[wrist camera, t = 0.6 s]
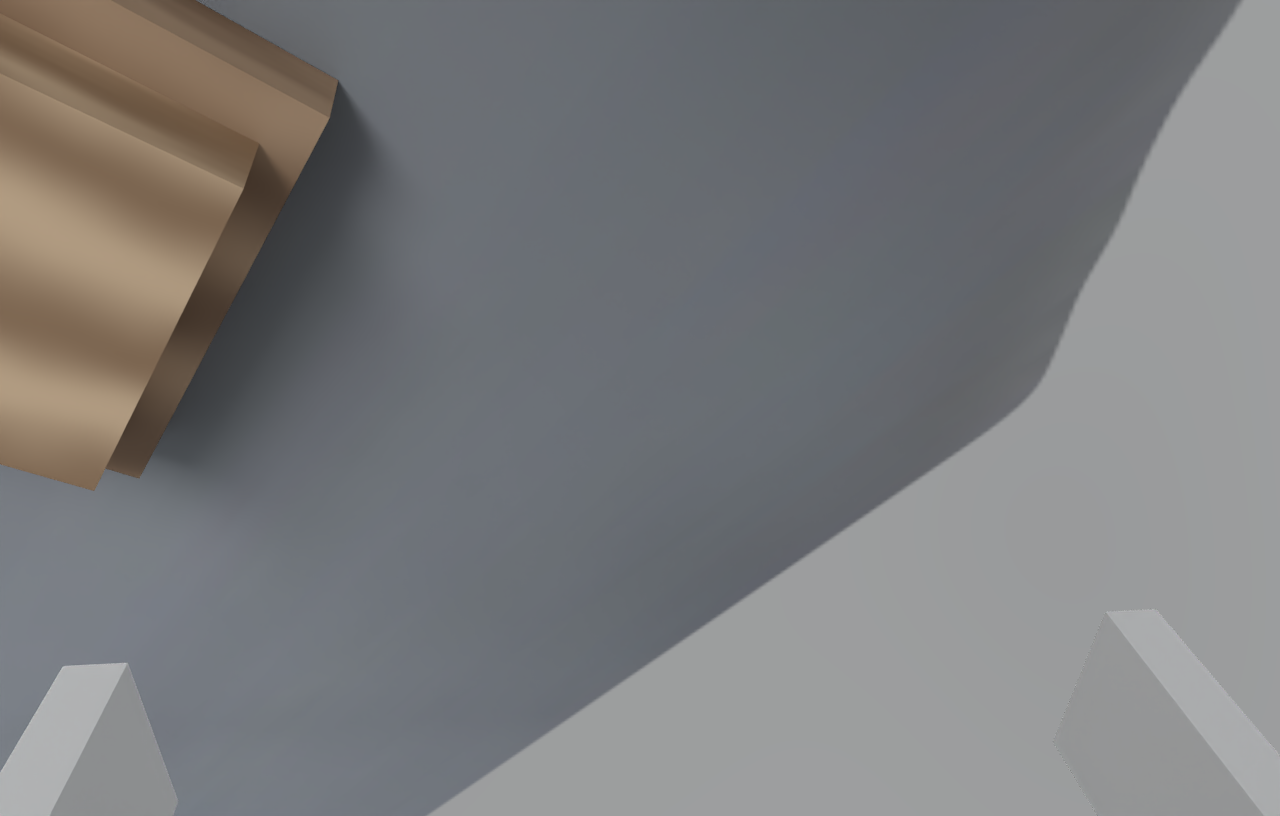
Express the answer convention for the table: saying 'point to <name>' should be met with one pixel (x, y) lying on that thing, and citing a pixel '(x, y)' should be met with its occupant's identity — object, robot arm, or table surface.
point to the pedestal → (130, 213)
